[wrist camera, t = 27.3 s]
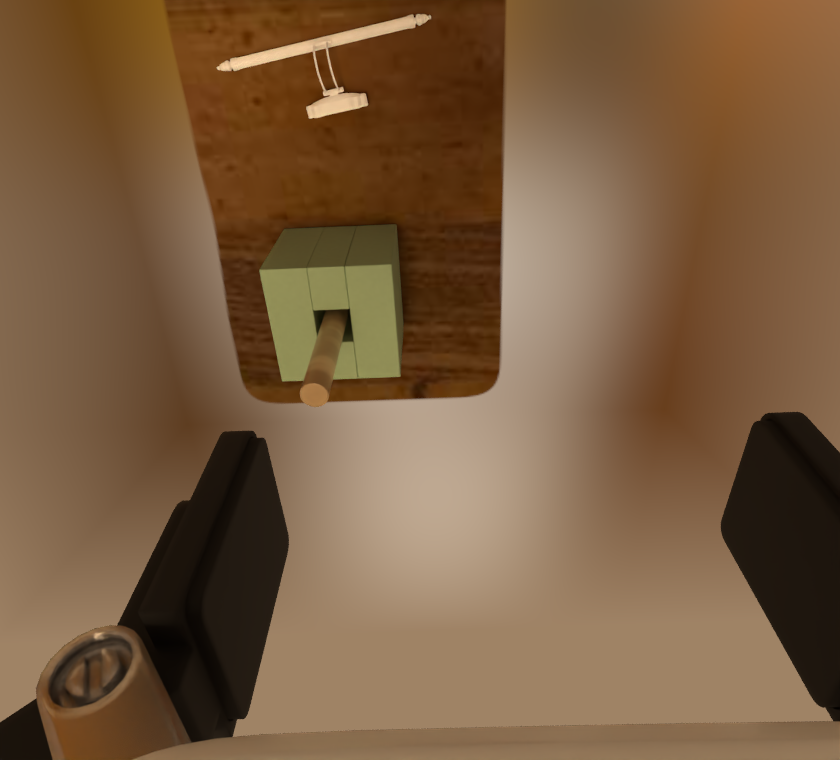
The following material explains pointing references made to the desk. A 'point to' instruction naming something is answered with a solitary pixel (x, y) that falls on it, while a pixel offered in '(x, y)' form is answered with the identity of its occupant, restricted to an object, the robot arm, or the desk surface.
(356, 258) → the stand
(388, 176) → the desk surface
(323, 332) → the stick
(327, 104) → the picture light
